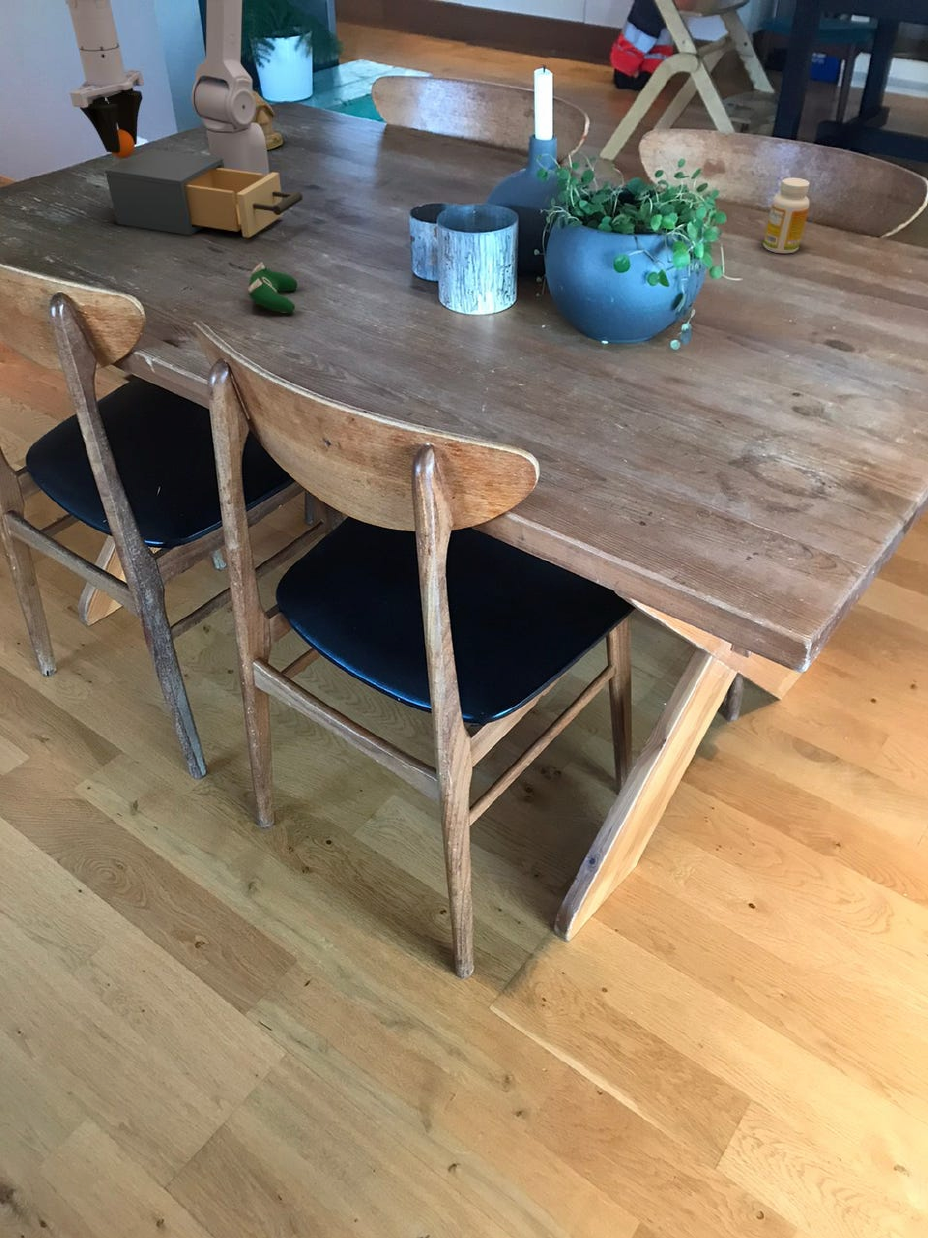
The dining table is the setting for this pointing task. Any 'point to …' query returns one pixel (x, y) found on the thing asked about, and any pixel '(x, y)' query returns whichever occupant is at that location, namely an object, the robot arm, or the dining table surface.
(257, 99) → the ceramic model
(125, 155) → the ball
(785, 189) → the supplement bottle
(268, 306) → the green fabric slippers
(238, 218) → the drawer
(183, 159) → the cabinet
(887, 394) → the dining table surface
